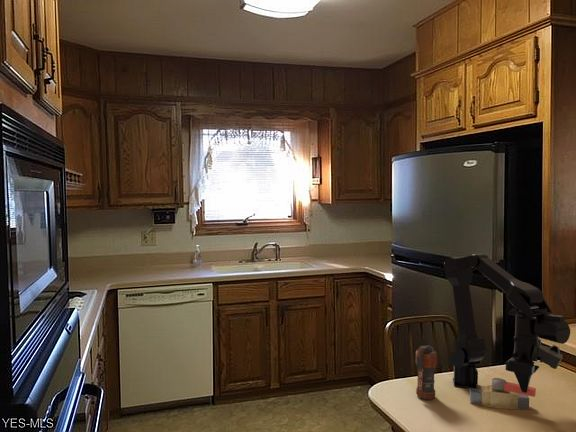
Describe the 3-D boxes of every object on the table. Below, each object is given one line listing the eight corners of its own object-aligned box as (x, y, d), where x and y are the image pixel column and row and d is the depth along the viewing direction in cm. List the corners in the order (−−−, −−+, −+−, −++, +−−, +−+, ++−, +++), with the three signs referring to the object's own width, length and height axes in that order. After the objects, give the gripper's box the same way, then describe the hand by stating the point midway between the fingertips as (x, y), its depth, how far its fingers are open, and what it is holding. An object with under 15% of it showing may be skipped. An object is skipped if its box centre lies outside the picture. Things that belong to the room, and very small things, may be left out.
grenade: (408, 398, 139) (409, 347, 138) (421, 390, 144) (422, 341, 144) (427, 404, 135) (428, 351, 134) (440, 396, 140) (440, 345, 140)
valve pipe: (470, 404, 135) (471, 389, 134) (469, 397, 140) (469, 382, 139) (529, 411, 131) (530, 395, 130) (526, 403, 136) (526, 388, 135)
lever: (490, 388, 135) (490, 380, 134) (493, 384, 137) (493, 377, 137) (533, 398, 128) (534, 390, 128) (536, 393, 131) (536, 385, 131)
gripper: (555, 346, 118) (552, 410, 117) (565, 333, 132) (563, 390, 132) (506, 338, 124) (503, 398, 124) (521, 326, 139) (519, 380, 139)
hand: (524, 392), depth 130 cm, fingers closed
